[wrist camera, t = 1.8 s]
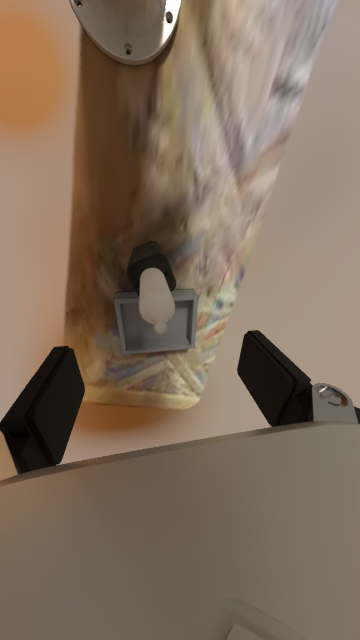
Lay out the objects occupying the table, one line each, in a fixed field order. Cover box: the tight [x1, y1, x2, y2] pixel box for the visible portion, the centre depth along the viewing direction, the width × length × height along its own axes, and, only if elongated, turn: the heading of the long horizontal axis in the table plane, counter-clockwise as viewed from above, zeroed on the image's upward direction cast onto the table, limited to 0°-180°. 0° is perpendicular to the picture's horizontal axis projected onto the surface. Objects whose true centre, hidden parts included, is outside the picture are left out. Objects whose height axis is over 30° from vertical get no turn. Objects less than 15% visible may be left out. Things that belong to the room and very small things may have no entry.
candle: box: [127, 241, 176, 334], centre depth 23 cm, size 5×5×25 cm
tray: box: [114, 289, 198, 355], centre depth 38 cm, size 12×15×4 cm
